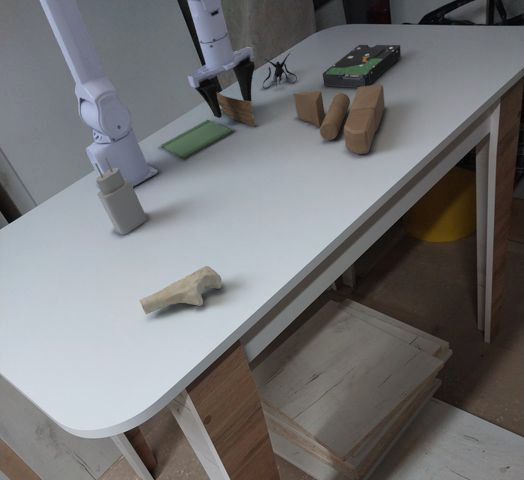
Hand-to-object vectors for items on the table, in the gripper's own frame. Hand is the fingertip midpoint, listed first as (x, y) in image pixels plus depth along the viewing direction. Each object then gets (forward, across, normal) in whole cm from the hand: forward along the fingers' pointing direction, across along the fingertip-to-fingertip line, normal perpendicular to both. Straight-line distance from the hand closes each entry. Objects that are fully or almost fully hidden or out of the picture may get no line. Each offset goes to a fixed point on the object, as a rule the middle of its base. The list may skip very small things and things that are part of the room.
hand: (233, 108), depth 109 cm
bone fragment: (+2, -38, -43) cm, 57 cm away
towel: (+2, -10, 0) cm, 10 cm away
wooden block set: (+2, +5, -25) cm, 26 cm away
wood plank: (+2, 0, 0) cm, 2 cm away
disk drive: (+2, +27, -10) cm, 29 cm away
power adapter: (+2, -34, -17) cm, 38 cm away
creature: (+2, +16, +5) cm, 17 cm away
